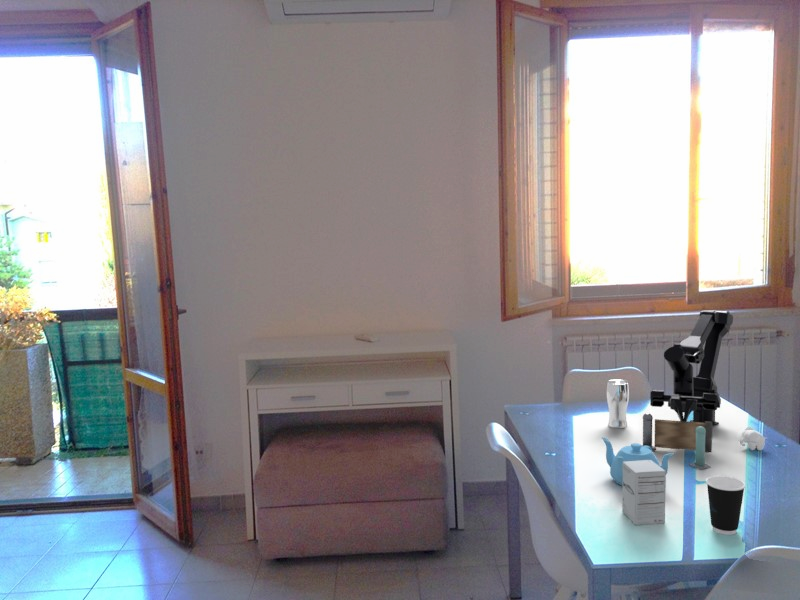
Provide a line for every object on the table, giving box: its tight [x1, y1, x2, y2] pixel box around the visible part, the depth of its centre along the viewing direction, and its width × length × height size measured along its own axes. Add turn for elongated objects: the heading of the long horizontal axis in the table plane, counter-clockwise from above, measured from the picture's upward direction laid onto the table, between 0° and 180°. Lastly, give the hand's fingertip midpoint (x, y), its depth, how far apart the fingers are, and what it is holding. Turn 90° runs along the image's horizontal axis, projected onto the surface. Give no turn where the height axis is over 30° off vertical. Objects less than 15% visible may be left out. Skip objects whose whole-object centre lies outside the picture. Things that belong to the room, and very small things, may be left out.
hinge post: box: [641, 412, 657, 452], centre depth 204 cm, size 5×5×11 cm
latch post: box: [688, 426, 712, 471], centre depth 189 cm, size 4×4×11 cm
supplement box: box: [621, 460, 667, 526], centre depth 158 cm, size 7×7×13 cm
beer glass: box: [606, 379, 630, 430], centre depth 227 cm, size 7×7×15 cm
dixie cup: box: [705, 475, 746, 536], centre depth 151 cm, size 8×8×11 cm
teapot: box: [601, 437, 675, 487], centre depth 179 cm, size 15×15×10 cm
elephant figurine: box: [738, 426, 769, 451], centre depth 202 cm, size 7×8×6 cm
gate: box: [654, 418, 713, 454], centre depth 200 cm, size 16×2×9 cm, turn 69°
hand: (683, 424), depth 202 cm, fingers closed
